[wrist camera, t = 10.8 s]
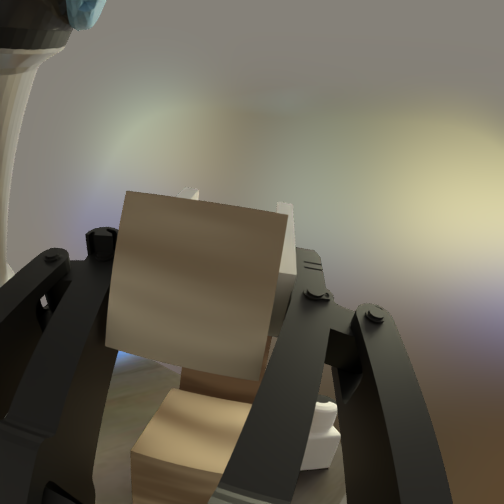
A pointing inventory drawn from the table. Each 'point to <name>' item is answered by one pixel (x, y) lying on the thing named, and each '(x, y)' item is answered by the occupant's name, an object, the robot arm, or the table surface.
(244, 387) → the stand
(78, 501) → the robot arm
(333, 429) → the medicine bottle
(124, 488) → the table surface
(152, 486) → the base pedestal
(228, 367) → the wooden block
